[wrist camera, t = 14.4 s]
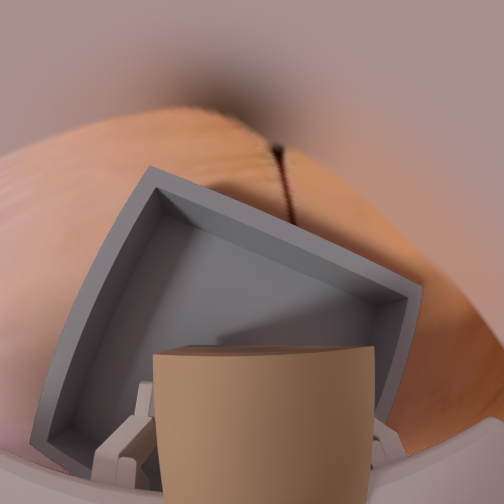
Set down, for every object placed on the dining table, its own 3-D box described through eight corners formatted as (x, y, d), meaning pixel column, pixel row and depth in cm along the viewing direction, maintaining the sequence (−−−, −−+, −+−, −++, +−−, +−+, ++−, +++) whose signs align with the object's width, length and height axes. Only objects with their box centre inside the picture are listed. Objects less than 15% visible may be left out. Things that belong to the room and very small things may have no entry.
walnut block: (192, 419, 15) (171, 537, 4) (190, 344, 17) (153, 354, 5) (270, 417, 16) (364, 513, 5) (269, 344, 17) (374, 345, 6)
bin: (61, 427, 15) (29, 443, 11) (159, 200, 22) (149, 165, 17) (298, 515, 16) (318, 546, 11) (386, 299, 22) (423, 287, 18)
